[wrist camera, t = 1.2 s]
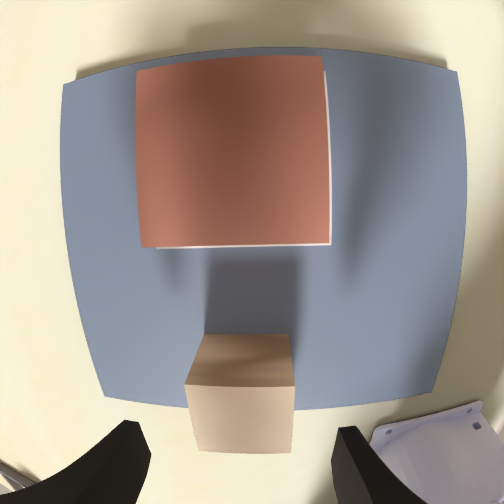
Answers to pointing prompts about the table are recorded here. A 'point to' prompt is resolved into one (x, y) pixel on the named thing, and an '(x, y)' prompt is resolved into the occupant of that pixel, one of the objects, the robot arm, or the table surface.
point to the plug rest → (15, 478)
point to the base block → (232, 152)
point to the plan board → (280, 255)
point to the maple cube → (242, 393)
